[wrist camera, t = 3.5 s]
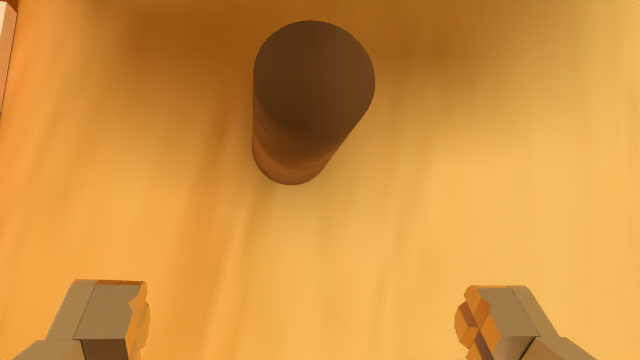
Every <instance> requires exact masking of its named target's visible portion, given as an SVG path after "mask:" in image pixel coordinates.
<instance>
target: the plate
mask: <svg viewBox="0 0 640 360" xmlns="http://www.w3.org/2000/svg"><path fill="white" fill-rule="evenodd" d="M16 17H17V13H16V12H15V11H14V9H13V8H12V7H11V6H10V5H9V4H8V3H7V2H2V1H0V112H1V106H2V101H3V95H4V89H5V83H6V77H7V71H8V65H9V59H10V53H11V47H12V41H13V35H14V29H15V23H16Z"/></svg>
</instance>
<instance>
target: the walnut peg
mask: <svg viewBox="0 0 640 360" xmlns="http://www.w3.org/2000/svg"><path fill="white" fill-rule="evenodd" d="M374 90H375V75H374V70H373V66H372V63H371V60H370V58H369V56H368V54H367V52H366V51H365V49H364V48H363V46H362V45H361V44H360V43H359V42H358V41H357V40H356V39H355V38H354V37H353V36H352V35H350V34H349V33H348V32H346V31H345V30H343V29H341V28H339V27H337V26H335V25H332V24H329V23H325V22H320V21H301V22H296V23H292V24H289V25H286V26H284V27H282V28H280V29H279V30H277V31H276V32H274V33H273V34H272V35H271V36H270V37H269V38H268V39H267V40H266V41H265V42H264V44H263V45H262V47H261V49H260V50H259V53H258V55H257V57H256V61H255V65H254V82H253V138H252V150H253V156H254V159H255V162H256V164H257V166H258V167H259V169H260V170H261V171H262V173H263V174H265V175H266V176H267V177H268V178H270V179H271V180H273V181H275V182H277V183H280V184H284V185H298V184H302V183H305V182H308V181H310V180H311V179H313V178H314V177H316V176H317V175H318V174H319V173H320V172H321V170H322V169H323V168H324V166H325V165H326V164H327V162H328V161H329V160H330V158H331V157H332V156H333V155H334V153H335V152H336V151H337V149H338V148H339V147H340V145H341V144H342V143H343V141H344V140H345V139H346V137H347V136H348V135H349V134H350V132H351V131H352V130H353V128H354V127H355V126H356V124H357V123H358V122H359V120H360V119H361V118H362V116H363V115H364V114H365V112H366V111H367V109H368V108H369V106H370V104H371V101H372V98H373V95H374Z"/></svg>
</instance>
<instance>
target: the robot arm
mask: <svg viewBox="0 0 640 360" xmlns="http://www.w3.org/2000/svg"><path fill="white" fill-rule="evenodd" d="M146 295H147V286H146V282H144V281H122V280H86V279H76V280H75V281H74V282H73V283H72V284H71V285H70V287H69V289H68V292H67V294H66V296H65V298H64V300H63V302H62V304H61V306H60V308H59V311H58V313H57V315H56V317H55V319H54V321H53V323H52V325H51V327H50V329H49V332H48V334H47V336H46V338H45V340H39V341H36V342H34V343H33V344H32V345H30V346H29V347H28V348H27V349H25V350H24V351H23V352H21V353H20V354H19V355H17V356H16V357H15V358H13V359H12V360H141V358H140V351H139V350H140V349H141V348H142V347H143V346H144V345H145V344H146V340H147V336H148V330H149V322H150V309H149V304H148V303H147V302H145V299H146ZM464 297H465V299H466V301H465V302H464V303H462V304H461V305H460V306H458V309H457V311H456V314H455V329H456V334H457V336H458V339H459V341H460V343H462V344H463V345H464V346H465V347H466V348H467V349H468V352H467V356H466V358H467V360H597V359H595V358H594V357H592V356H591V355H590V354H588V353H587V352H585V351H584V350H583V349H581V348H580V347H578V346H577V345H576V344H574V343H573V342H572V341H570V340H569V339H567V338H566V337H560V336H559V335H558V333H557V331H556V330H555V328H554V327H553V325H552V324H551V322H550V321H549V319H548V317H547V316H546V314H545V313H544V311H543V310H542V308H541V307H540V305H539V304H538V302H537V300H536V299H535V297H534V296H533V294H532V293H531V291H530V290H529V289H528V288H527V287H526V286H504V285H471V286H469V287H468V288H467V289H466V291H465V293H464Z"/></svg>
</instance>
